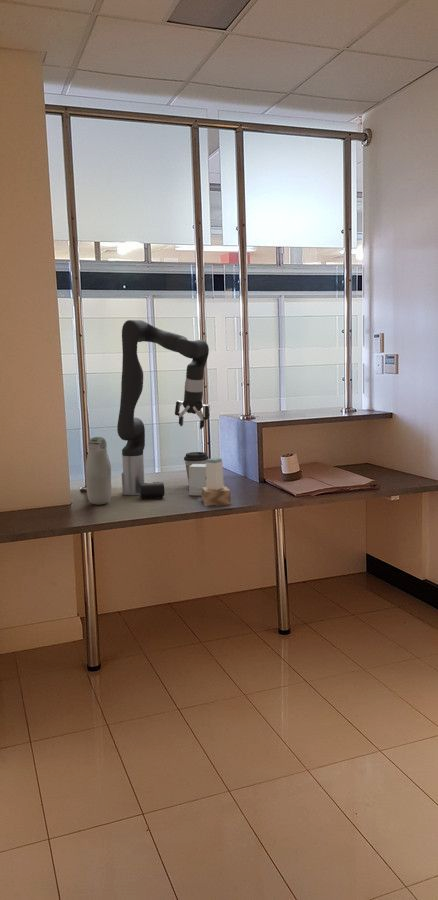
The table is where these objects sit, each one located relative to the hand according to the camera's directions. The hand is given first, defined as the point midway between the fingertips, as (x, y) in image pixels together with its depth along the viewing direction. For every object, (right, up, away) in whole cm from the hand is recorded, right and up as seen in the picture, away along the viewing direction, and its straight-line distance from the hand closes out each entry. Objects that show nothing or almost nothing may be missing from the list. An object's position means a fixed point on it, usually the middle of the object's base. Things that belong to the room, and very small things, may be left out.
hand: (191, 427), depth 294 cm
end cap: (-17, -30, +8) cm, 36 cm away
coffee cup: (+1, -26, +31) cm, 41 cm away
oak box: (+10, -31, -4) cm, 33 cm away
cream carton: (+10, -25, -4) cm, 28 cm away
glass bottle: (-38, -32, -1) cm, 49 cm away
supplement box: (+3, -29, +14) cm, 32 cm away
